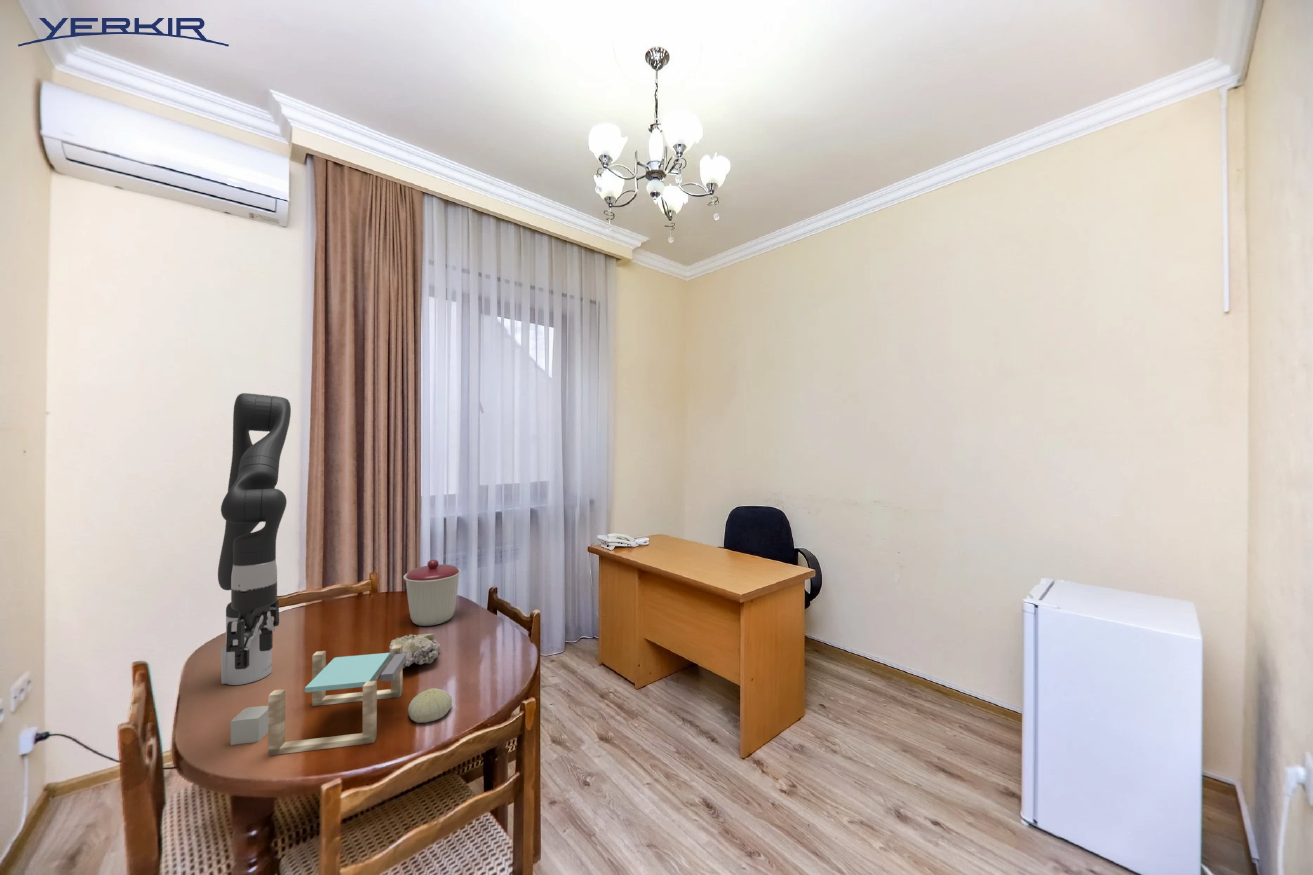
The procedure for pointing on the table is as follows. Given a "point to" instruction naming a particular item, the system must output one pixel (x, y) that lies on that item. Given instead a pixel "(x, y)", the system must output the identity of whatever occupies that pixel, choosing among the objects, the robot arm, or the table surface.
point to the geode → (417, 648)
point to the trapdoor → (355, 671)
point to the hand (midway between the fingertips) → (254, 658)
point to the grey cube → (249, 725)
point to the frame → (319, 698)
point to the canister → (432, 593)
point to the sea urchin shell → (429, 705)
